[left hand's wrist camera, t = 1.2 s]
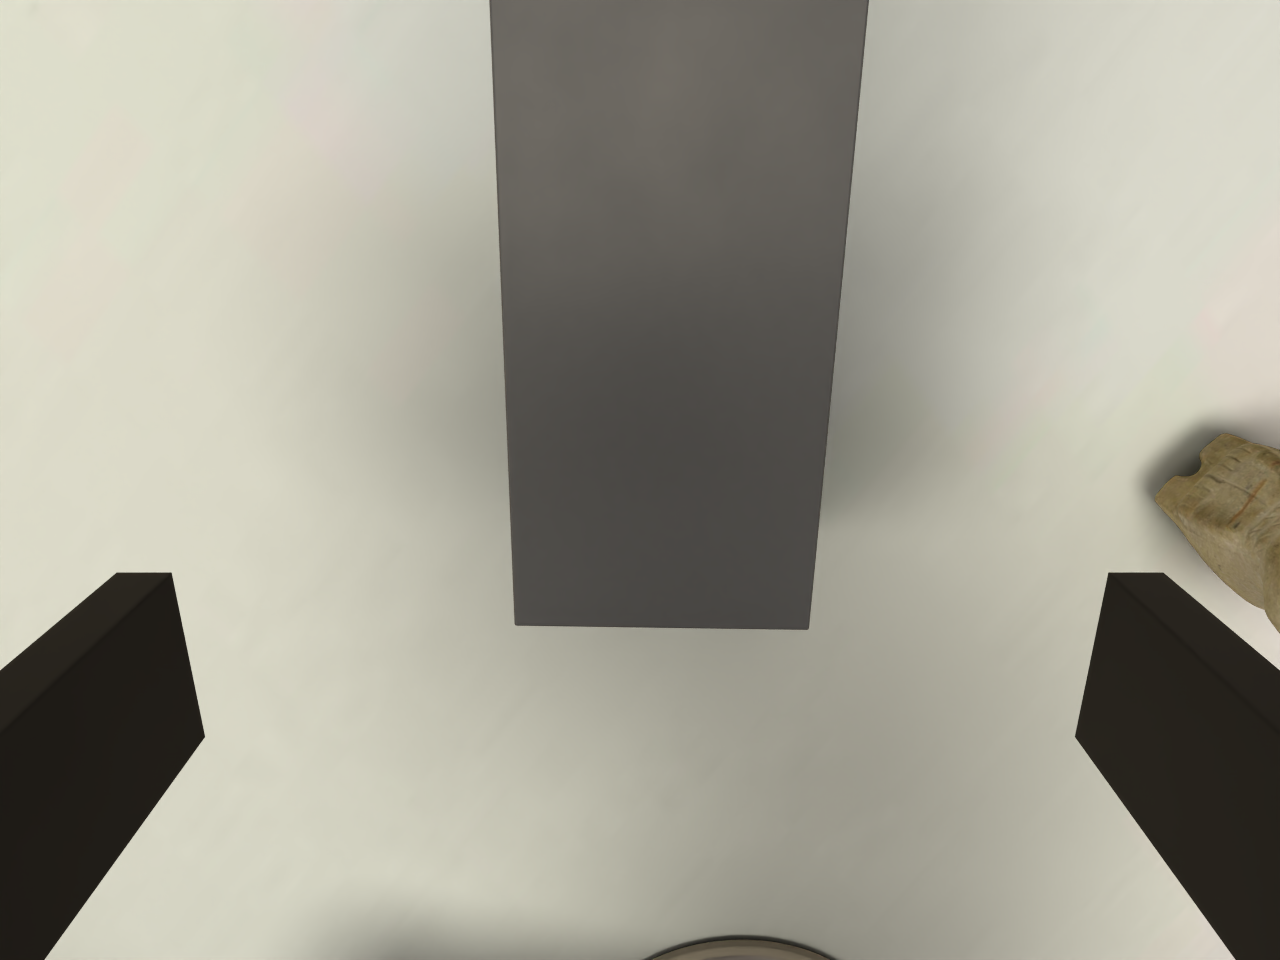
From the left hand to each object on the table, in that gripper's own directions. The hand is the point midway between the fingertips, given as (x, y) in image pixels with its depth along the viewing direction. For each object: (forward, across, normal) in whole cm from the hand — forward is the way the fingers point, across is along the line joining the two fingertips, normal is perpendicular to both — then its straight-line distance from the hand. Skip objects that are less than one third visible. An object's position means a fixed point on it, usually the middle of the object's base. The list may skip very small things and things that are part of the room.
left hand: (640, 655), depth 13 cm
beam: (+20, -1, -32) cm, 38 cm away
